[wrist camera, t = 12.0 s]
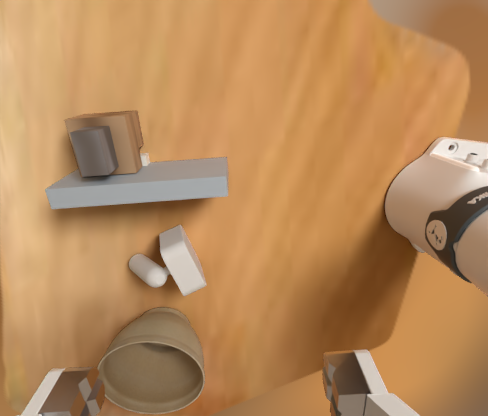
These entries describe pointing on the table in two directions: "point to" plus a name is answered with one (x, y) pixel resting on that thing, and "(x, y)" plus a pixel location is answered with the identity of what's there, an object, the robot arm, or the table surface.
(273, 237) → the table surface
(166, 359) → the planter bowl
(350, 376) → the robot arm
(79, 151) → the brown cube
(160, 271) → the wall hook
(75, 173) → the wall board
